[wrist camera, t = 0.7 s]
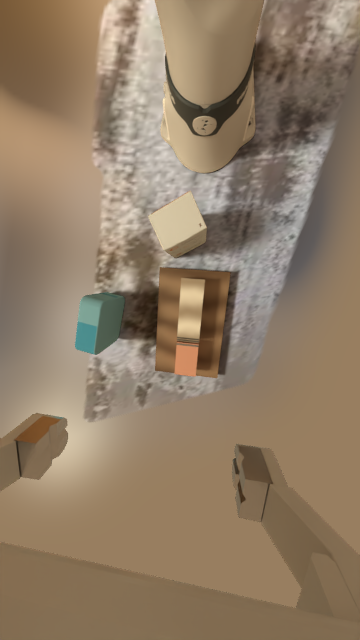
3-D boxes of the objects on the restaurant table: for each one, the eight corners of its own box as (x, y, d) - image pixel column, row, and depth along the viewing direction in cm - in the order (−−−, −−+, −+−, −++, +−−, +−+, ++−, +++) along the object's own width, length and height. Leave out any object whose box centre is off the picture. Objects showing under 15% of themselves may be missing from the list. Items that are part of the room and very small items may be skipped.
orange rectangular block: (178, 337, 47) (176, 342, 43) (198, 339, 46) (198, 344, 43) (176, 367, 48) (174, 374, 45) (196, 369, 48) (195, 376, 44)
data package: (109, 291, 48) (80, 295, 37) (126, 295, 48) (102, 301, 36) (102, 334, 51) (73, 351, 40) (118, 339, 51) (94, 357, 39)
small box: (194, 215, 42) (191, 188, 30) (206, 242, 43) (208, 227, 31) (162, 233, 44) (146, 215, 31) (174, 259, 45) (164, 251, 32)
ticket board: (161, 267, 46) (156, 266, 40) (229, 272, 44) (233, 271, 39) (156, 367, 51) (151, 377, 46) (216, 374, 50) (218, 385, 44)
